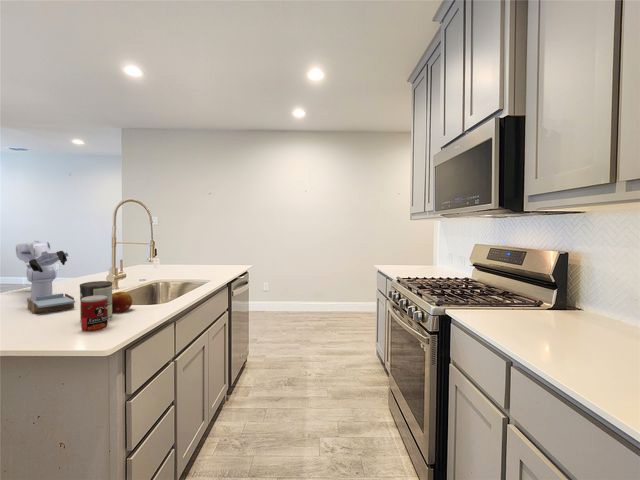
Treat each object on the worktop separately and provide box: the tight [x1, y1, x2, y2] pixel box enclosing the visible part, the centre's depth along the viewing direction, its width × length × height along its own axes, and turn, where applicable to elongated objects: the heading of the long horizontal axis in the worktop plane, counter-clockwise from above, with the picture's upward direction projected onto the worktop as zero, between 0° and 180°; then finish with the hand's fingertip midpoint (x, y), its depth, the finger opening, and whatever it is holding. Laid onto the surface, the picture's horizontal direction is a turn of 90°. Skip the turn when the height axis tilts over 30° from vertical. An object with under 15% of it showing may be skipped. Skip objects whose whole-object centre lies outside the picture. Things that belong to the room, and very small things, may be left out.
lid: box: [33, 293, 76, 308], centre depth 132 cm, size 12×12×2 cm
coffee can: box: [79, 280, 113, 323], centre depth 120 cm, size 10×10×14 cm
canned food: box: [80, 295, 109, 333], centre depth 110 cm, size 8×8×11 cm
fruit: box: [112, 291, 133, 313], centre depth 132 cm, size 10×9×8 cm
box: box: [27, 293, 75, 315], centre depth 134 cm, size 12×13×4 cm
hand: (52, 266), depth 134 cm, fingers open, 7 cm apart
